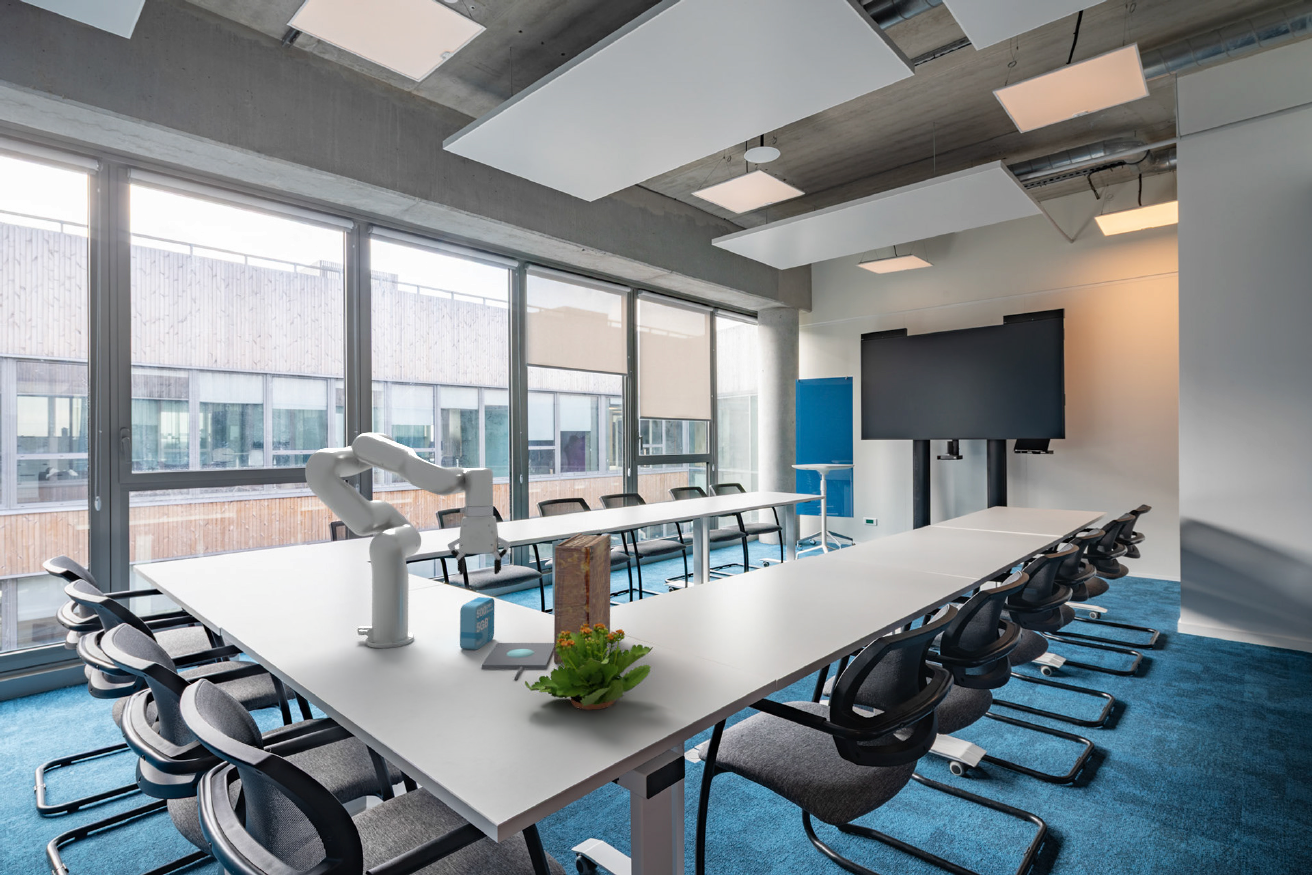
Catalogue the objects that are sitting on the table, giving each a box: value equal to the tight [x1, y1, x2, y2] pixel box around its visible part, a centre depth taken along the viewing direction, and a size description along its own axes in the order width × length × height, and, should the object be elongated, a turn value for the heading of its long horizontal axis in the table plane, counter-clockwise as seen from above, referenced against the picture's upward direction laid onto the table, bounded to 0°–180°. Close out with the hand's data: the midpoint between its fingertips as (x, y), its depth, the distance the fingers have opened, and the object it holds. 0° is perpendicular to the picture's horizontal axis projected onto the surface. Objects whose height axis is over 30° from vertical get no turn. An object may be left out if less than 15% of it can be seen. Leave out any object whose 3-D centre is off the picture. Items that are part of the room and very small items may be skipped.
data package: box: [459, 596, 495, 651], centre depth 184 cm, size 12×4×12 cm, turn 169°
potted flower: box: [524, 623, 654, 711], centre depth 144 cm, size 25×24×18 cm
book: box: [553, 532, 612, 664], centre depth 180 cm, size 25×9×30 cm, turn 172°
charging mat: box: [481, 642, 554, 681], centre depth 169 cm, size 16×26×1 cm, turn 1°
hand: (479, 573), depth 184 cm, fingers open, 9 cm apart
